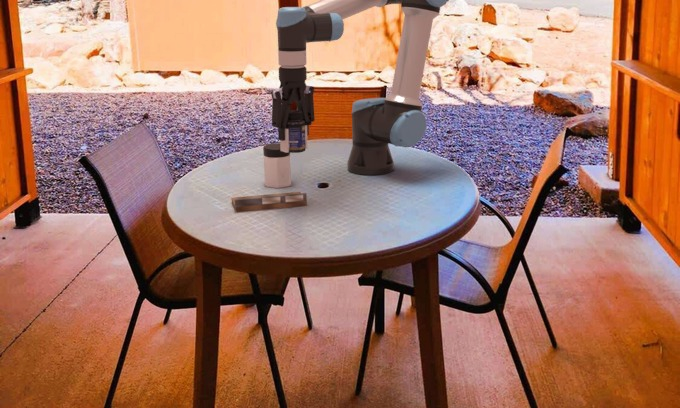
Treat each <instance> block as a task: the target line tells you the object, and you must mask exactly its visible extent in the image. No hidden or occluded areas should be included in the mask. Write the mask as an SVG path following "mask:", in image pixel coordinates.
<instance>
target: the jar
mask: <svg viewBox="0 0 680 408" xmlns="http://www.w3.org/2000/svg"><path fill="white" fill-rule="evenodd" d="M262 148H263V152H262V153H263V170H264V187H267V188H276V189H280V188H286V187H290V186H291V187H292V179H291V178H292V177H291V176H292V175H291V153H289V152H288V153H286V152H282V151H281V150H280V142H275V143H269V144H265V145H263V147H262Z"/></svg>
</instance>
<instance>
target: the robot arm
mask: <svg viewBox="0 0 680 408" xmlns="http://www.w3.org/2000/svg"><path fill="white" fill-rule="evenodd" d="M447 2H449V0H318V1H315V2H313V3H310V4H308V5H306V6H303V7H302V6H285V7H281V8H279V9H278V10H277V16H276V17H277V18H276V22H275V24H276V25H275V26H276V30H277V47H278V50H277V54H278V56H277V57H278V65H279V67H278V80H279V82H280V84H279V87H278V89H276V90H271V91H270V95H271V99H272V100H271V101H272V104H271V105H272V106H271V108H272V110H271V111H272V112H271V114H272V115H271V127H273V128H277V130H278V131H277V132H278V135H277V136H278V140H279V143H280V150H281V151H282V152H286V153H288V152H289V134H288V129H286V125H287V120H288V116H289V111H290V110H291V106H292V105H293V103H295V106H296V110H299V111H302V118H301V119H302V120H304V121H305V142H306V149H308V136H309V135H310V132H309V131H310V127H309V126H312V122H315V105H314V92H315V87H314V86H312V85H311V86H310V85H307V84H306V80H307V73H308V72H307V67H306V65H307V44H309V43H318V42H319V43H322V42H329V43H330V42H332V41H337V40H339V39H341V38H342V36H344V35H343V34H344V31H345V27H344V25H345V24H344V20H345V19H348V18H349V17H352V16H355V15H356V14H360V13H361V12H364V11H367V10H369V9H371V8H374V7H377V8H383V7H385V6H388V5H401V6H400V10H401V12H403V15H404V16H403V23H402V27H401V28H402V29H401V34H400V39H399V45H398V51H397V57H396V62H395V68H394V73H393V79H392V85H391V91H390V94H389V95H388V96H387V97H372V98H363V99H358V100H355V101H353V103H352V107H351V131H352V132H351V133H352V135H351V136H352V137H351V138H352V145H351V150H350V153H349V156H348V159H347V166H346V167H347V168H346V169H347V171H349V172H350V173H352V174H357V175H363V176H374V175H384V174H388V172H389V173H390V172H393V171H394V169H395V167H394V166H395V164H394V159H393V155H392V153H391V149H390V147H389V146H390V145H393V146H395V147H401V148H411V147H414V146H415V145H417V144H418V143H419V142H420V141H421V140H422V138H423V137H424V136H425V133H426V131H427V124H428V121H427V119H426V116H425V114H424V113H423V112H422V109H423V108H422V107H423V104H422V102H421V101H420V93H421V88H422V81H423V75H424V72H425V65H426V60H427V54H428V50H429V44H430V38H431V34H432V33H431V32H432V26H433V22H434V19H435V18H437V17H438V16H440V11H441V7H443V6H445V5H446V4H447ZM392 170H393V171H392Z"/></svg>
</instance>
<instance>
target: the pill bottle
mask: <svg viewBox="0 0 680 408" xmlns="http://www.w3.org/2000/svg"><path fill="white" fill-rule="evenodd" d="M301 118H302V111H299V110H298V109H296V110H295V109H294V110H293V109H290V111H289V116H288V120H287V125H286V129H288V134H289V153H290V154H291V153H292V154H294V153H296V154H298V153H299V154H301V153H303V152H305V151H306V149H307V148H306V142H305V121H304V120H302V119H301Z"/></svg>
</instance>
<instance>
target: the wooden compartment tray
mask: <svg viewBox="0 0 680 408" xmlns="http://www.w3.org/2000/svg"><path fill="white" fill-rule="evenodd" d="M307 194H308V193H307V192H301V191H293V192H292V191H291V192H281V193H270V194H268V193H267V194H257V195H248V196H236V197H235V196H234V197H231V204H232V207H233V209H234V211H235V213H244V212H245V213H246V212H254V211H255V212H256V211H264V210H265V211H266V210H276V209H287V208H288V209H289V208H296V207H297V208H298V207H305V206H306V207H307V206H308V205H307V204H308V203H307V202H308V201H307V197H308V196H307Z"/></svg>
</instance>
